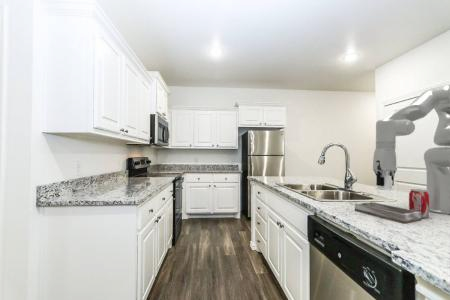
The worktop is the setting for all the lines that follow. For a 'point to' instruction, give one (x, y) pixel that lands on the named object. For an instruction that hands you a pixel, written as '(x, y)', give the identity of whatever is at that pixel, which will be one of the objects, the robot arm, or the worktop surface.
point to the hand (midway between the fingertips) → (385, 185)
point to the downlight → (386, 182)
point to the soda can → (419, 201)
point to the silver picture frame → (389, 212)
